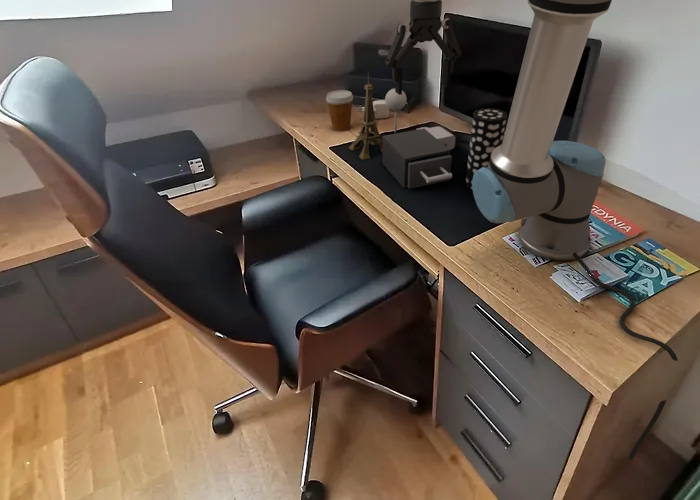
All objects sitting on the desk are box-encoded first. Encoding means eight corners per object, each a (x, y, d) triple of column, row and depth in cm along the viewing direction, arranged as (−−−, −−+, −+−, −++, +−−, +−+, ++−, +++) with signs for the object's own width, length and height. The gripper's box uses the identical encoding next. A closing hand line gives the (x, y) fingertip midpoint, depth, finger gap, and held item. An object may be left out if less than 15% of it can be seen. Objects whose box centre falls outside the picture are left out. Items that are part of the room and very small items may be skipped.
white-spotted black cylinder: (459, 184, 129) (467, 115, 117) (475, 173, 134) (483, 106, 122) (486, 194, 125) (496, 123, 113) (501, 182, 129) (513, 112, 117)
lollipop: (409, 130, 161) (410, 87, 152) (399, 137, 157) (400, 93, 148) (391, 126, 165) (391, 84, 156) (381, 134, 160) (381, 90, 151)
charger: (430, 132, 159) (454, 149, 148) (407, 137, 157) (429, 154, 145) (431, 119, 156) (455, 135, 145) (407, 124, 154) (430, 140, 142)
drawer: (459, 189, 125) (462, 165, 121) (417, 198, 123) (419, 174, 118) (425, 157, 142) (427, 135, 137) (388, 165, 139) (388, 142, 135)
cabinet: (447, 179, 132) (450, 149, 127) (403, 188, 129) (404, 158, 124) (422, 155, 145) (424, 128, 139) (382, 163, 142) (382, 135, 136)
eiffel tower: (362, 160, 145) (359, 78, 130) (348, 147, 152) (344, 69, 137) (392, 152, 148) (392, 72, 133) (377, 140, 156) (376, 63, 141)
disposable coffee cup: (338, 120, 172) (336, 88, 164) (359, 125, 167) (358, 92, 160) (322, 129, 166) (320, 96, 158) (344, 134, 161) (342, 100, 154)
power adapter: (359, 121, 170) (359, 105, 167) (358, 116, 174) (357, 100, 171) (389, 118, 171) (389, 103, 167) (387, 114, 175) (387, 98, 171)
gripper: (465, -8, 115) (457, 78, 128) (371, 2, 110) (373, 92, 122) (481, -5, 109) (471, 86, 122) (382, 7, 104) (383, 100, 117)
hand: (422, 89), depth 122 cm, fingers open, 13 cm apart
